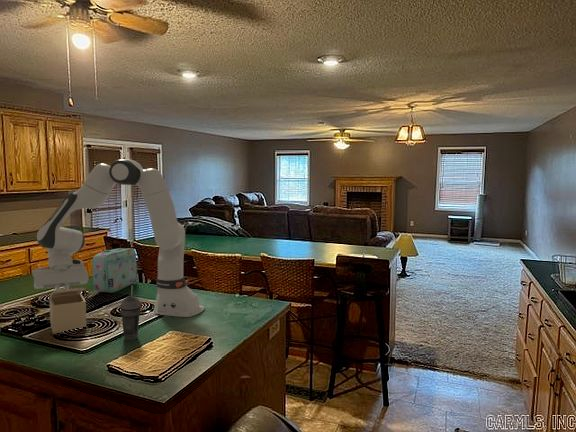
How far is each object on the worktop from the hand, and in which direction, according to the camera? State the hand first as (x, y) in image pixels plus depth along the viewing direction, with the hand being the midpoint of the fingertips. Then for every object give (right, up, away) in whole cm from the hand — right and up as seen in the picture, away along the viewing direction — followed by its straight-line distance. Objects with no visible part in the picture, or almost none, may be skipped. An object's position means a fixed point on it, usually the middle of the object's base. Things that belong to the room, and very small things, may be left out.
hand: (63, 294), depth 166 cm
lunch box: (+4, -5, +42) cm, 43 cm away
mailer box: (+8, -10, -11) cm, 17 cm away
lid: (+6, +2, -8) cm, 10 cm away
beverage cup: (+36, -12, -19) cm, 43 cm away
